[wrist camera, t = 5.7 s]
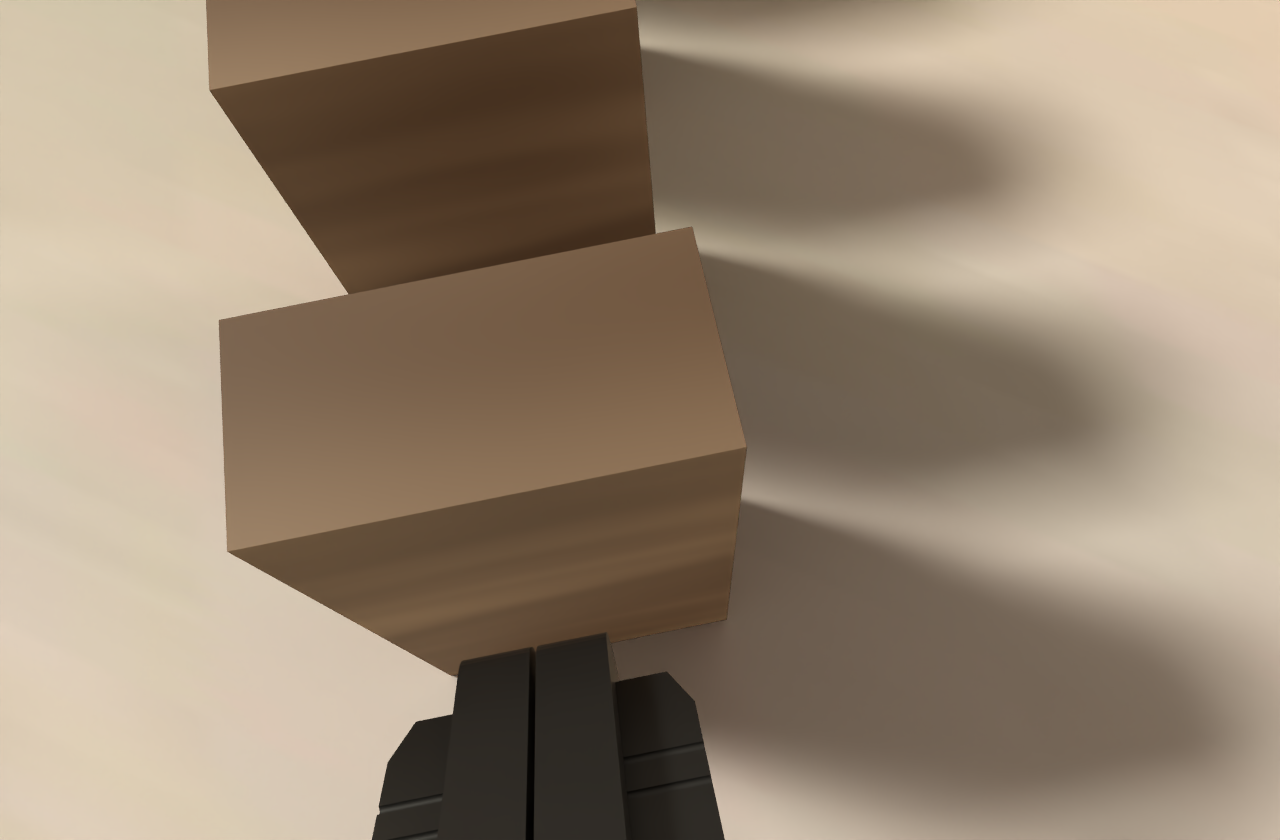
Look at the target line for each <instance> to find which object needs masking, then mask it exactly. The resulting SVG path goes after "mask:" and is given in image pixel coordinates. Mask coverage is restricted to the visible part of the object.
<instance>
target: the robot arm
mask: <svg viewBox="0 0 1280 840" xmlns="http://www.w3.org/2000/svg"><path fill="white" fill-rule="evenodd" d="M379 809H380V814H379V815H377V817H376V822H375V827H374V832H373V837H372V840H725V839H724V834H723V830H722V825H721V820H720V816H719V811H718V807H717V802H716V797H715V793H714V788H713V784H712V779H711V774H710V770H709V765H708V760H707V756H706V751H705V747H704V742H703V737H702V733H701V728H700V724H699V719H698V714H697V710H696V705H695V701H694V700H693V699H692V698H691V697H690V696H689V695H688V694H687V693H686V692H685V691H684V689H683V688H682V687H681V686H680V685H679V684H678V683H677V682H676V681H675V680H674V679H673V678H672V677H671V676H670V675H669V674H668V673H667V672H663V673H658V674H653V675H648V676H643V677H638V678H633V679H628V680H623V681H619V677H618V673H617V668H616V664H615V659H614V655H613V651H612V646H611V642H610V639H609V635H608V633H607V632H604V633H599V634H594V635H589V636H584V637H579V638H574V639H569V640H564V641H559V642H554V643H549V644H544V645H539V646H537V649H536V651H535V649H534V648H533V647H528V648H523V649H518V650H513V651H508V652H503V653H498V654H493V655H488V656H483V657H478V658H473V659H468V660H463V661H461V663H460V666H459V671H458V679H457V686H456V694H455V702H454V710H453V714H452V715H447V716H442V717H437V718H432V719H427V720H422V721H417V722H416V723H415V724H414V725H413V727H412V728H411V730H410V731H409V733H408V734H407V736H406V737H405V738H404V740H403V741H402V743H401V744H400V746H399V747H398V749H397V750H396V751H395V753H394V754H393V756H392V757H391V759H390V760H389V762H388V764H387V769H386V774H385V778H384V783H383V788H382V793H381V798H380V803H379Z"/></svg>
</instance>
